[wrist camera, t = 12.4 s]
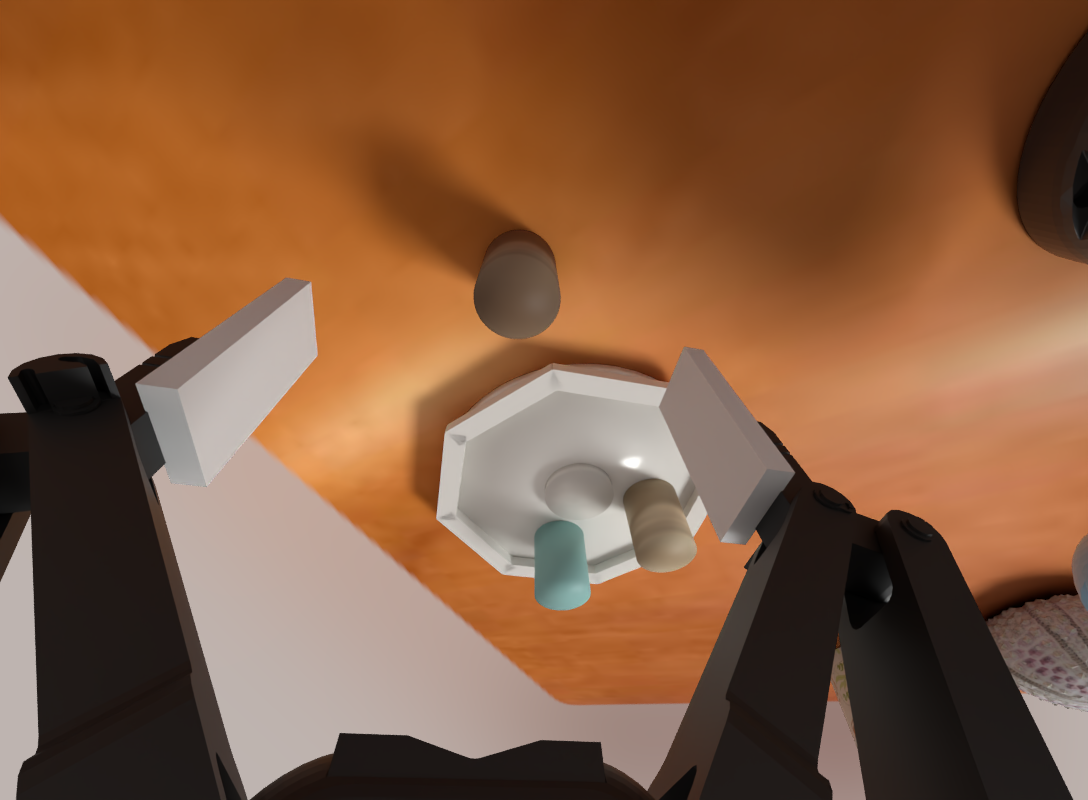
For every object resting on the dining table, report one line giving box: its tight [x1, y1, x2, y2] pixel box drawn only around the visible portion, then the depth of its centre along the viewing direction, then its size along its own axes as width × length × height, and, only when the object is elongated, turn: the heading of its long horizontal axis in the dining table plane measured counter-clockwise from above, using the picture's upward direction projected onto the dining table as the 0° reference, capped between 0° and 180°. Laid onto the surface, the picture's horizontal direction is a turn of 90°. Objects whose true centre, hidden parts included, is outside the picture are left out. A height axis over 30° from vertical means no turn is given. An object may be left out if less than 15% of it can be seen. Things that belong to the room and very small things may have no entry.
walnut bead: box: [474, 230, 561, 339], centre depth 22 cm, size 4×4×5 cm
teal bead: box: [534, 521, 591, 610], centre depth 33 cm, size 4×4×5 cm
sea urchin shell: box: [986, 594, 1088, 712], centre depth 43 cm, size 13×14×8 cm
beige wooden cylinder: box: [623, 479, 697, 572], centre depth 31 cm, size 4×4×5 cm
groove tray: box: [436, 363, 707, 584], centre depth 32 cm, size 20×20×2 cm
